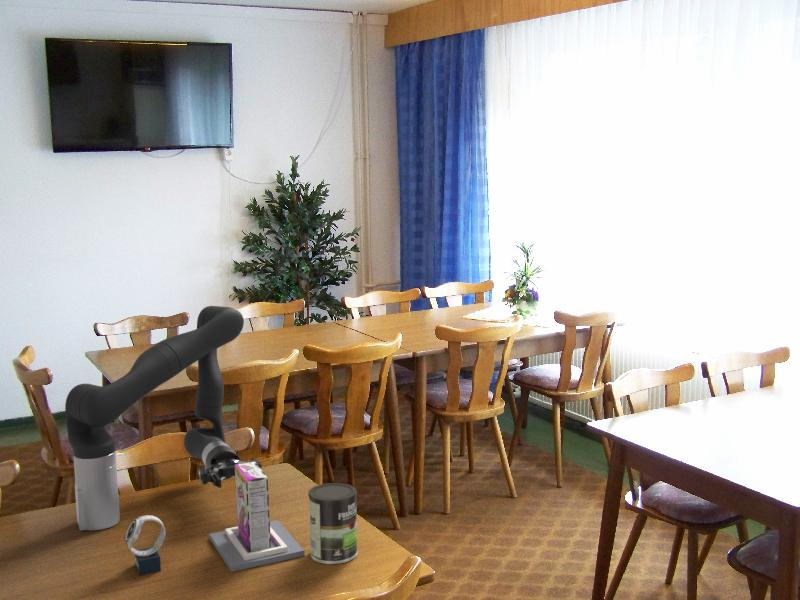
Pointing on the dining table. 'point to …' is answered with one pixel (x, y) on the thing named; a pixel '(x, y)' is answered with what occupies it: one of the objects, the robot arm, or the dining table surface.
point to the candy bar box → (252, 506)
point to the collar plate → (241, 558)
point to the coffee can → (333, 523)
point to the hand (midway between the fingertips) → (238, 480)
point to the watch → (147, 557)
